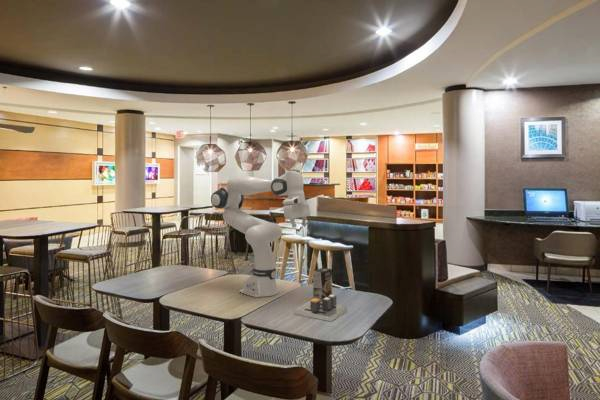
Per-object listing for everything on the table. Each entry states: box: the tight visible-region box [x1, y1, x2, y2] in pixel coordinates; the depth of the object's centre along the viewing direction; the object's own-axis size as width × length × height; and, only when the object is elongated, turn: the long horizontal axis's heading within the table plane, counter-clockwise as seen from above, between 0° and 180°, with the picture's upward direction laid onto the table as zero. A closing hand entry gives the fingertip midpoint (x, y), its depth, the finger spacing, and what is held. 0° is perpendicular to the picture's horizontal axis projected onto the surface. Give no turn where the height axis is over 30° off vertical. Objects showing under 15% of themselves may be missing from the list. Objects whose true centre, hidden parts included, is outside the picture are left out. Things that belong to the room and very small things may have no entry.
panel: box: [293, 300, 348, 323], centre depth 181 cm, size 20×16×2 cm
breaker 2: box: [327, 294, 337, 307], centre depth 183 cm, size 3×4×5 cm
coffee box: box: [312, 267, 333, 302], centre depth 199 cm, size 9×6×16 cm
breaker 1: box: [322, 297, 332, 310], centre depth 179 cm, size 3×4×5 cm
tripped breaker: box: [309, 298, 320, 312], centre depth 177 cm, size 3×4×5 cm
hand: (299, 226), depth 199 cm, fingers open, 8 cm apart
